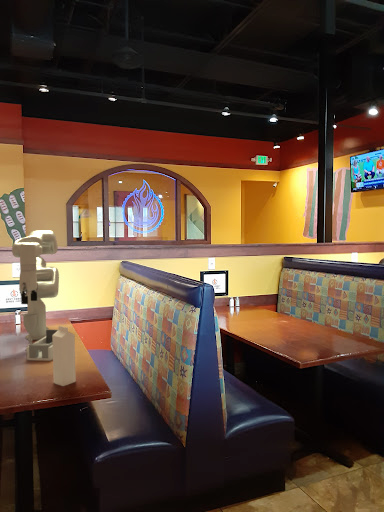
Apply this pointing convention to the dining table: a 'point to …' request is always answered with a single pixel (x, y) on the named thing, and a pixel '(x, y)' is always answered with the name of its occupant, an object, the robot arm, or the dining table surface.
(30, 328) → the chalice
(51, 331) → the pusher
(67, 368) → the milk
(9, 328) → the dining table surface
